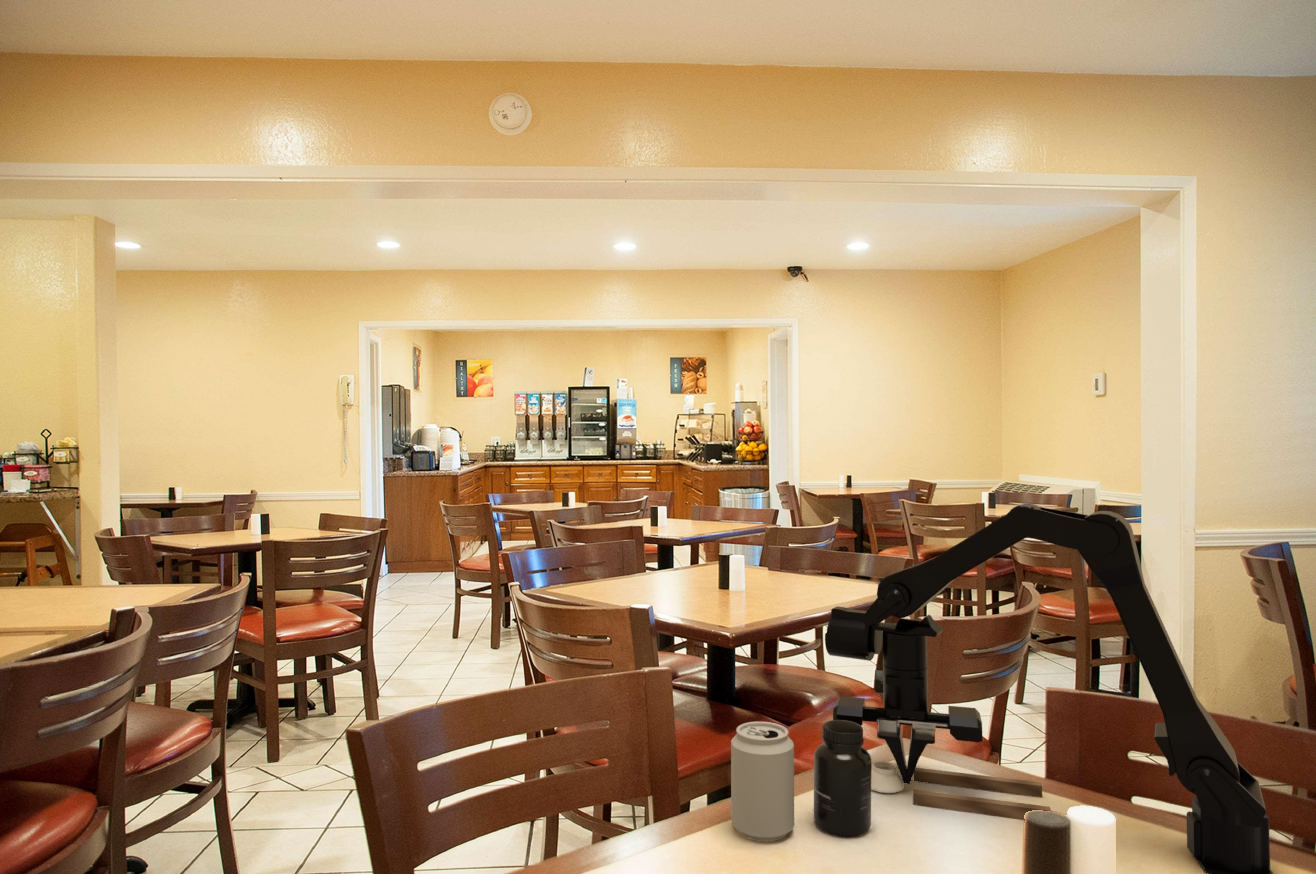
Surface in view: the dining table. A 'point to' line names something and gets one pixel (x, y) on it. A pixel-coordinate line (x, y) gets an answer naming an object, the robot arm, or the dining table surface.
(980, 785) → the chute
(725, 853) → the dining table surface
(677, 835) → the dining table surface
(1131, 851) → the dining table surface
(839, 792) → the supplement bottle
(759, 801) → the can
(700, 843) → the dining table surface
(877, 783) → the lidless jar
